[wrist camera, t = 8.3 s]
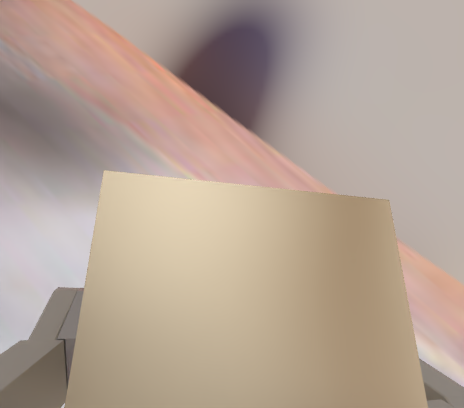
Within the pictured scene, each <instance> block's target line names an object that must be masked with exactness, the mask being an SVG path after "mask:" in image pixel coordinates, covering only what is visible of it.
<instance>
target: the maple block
mask: <svg viewBox="0 0 464 408" xmlns="http://www.w3.org/2000/svg"><path fill="white" fill-rule="evenodd" d="M64 408H428V404H427V399H426V394H425V388H424V383H423V378H422V372H421V367H420V362H419V356H418V351H417V346H416V340H415V335H414V330H413V324H412V319H411V314H410V309H409V303H408V298H407V293H406V287H405V282H404V277H403V271H402V266H401V261H400V255H399V250H398V245H397V240H396V234H395V229H394V224H393V218H392V213H391V208H390V202H389V200H385V199H375V198H366V197H356V196H346V195H337V194H327V193H317V192H308V191H298V190H288V189H279V188H269V187H260V186H250V185H240V184H231V183H221V182H211V181H202V180H192V179H183V178H173V177H163V176H154V175H144V174H134V173H125V172H115V171H105V170H104V172H103V178H102V184H101V190H100V196H99V202H98V208H97V214H96V220H95V226H94V232H93V238H92V244H91V250H90V256H89V262H88V269H87V275H86V281H85V287H84V293H83V299H82V305H81V311H80V317H79V323H78V329H77V335H76V341H75V347H74V353H73V359H72V365H71V371H70V377H69V383H68V389H67V395H66V401H65V407H64Z"/></svg>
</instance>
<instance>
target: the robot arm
mask: <svg viewBox="0 0 464 408" xmlns="http://www.w3.org/2000/svg"><path fill="white" fill-rule="evenodd" d="M83 293H84V288H65V287H58V288H57V289H56V290H55V291H54V292H53V294H52V296H51V297H50V299H49V301H48V303H47V305H46V307H45V309H44V311H43V313H42V315H41V316H40V318H39V320H38V322H37V324H36V326H35V328H34V330H33V332H32V334H31V335H30V337H29V339H28V340H23V341H19V342H18V343H16V344H15V345H13V346H12V347H10V348H9V349H8V350H6V351H5V352H3V353H2V354H0V408H61V406H62V405H63V404H64V403H65V401H66V395H67V389H68V383H69V377H70V371H71V365H72V359H73V353H74V347H75V341H76V335H77V329H78V323H79V317H80V311H81V305H82V299H83ZM419 362H420V367H421V372H422V378H423V383H424V388H425V394H426V399H427V404H428V408H464V387H462V386H461V385H459V384H458V383H456V382H455V381H453V380H451V379H450V378H448V377H447V376H445V375H444V374H442V373H441V372H439V371H438V370H436V369H435V368H433V367H432V366H430V365H429V364H427V363H425V362H424V361H422V360H421V359H419Z"/></svg>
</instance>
